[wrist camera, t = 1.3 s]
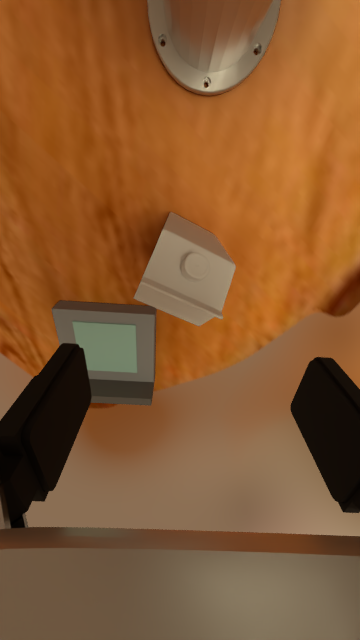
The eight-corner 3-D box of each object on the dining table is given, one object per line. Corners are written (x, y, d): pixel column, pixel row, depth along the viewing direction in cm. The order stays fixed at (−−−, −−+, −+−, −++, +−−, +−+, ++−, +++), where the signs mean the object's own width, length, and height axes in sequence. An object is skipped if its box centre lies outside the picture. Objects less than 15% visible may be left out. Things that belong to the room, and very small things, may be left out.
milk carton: (192, 277, 37) (201, 350, 21) (150, 257, 36) (124, 319, 19) (215, 234, 34) (247, 280, 17) (170, 211, 32) (159, 237, 16)
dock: (60, 300, 39) (37, 321, 33) (156, 306, 40) (151, 328, 34) (74, 373, 47) (59, 400, 41) (155, 377, 48) (151, 405, 41)
